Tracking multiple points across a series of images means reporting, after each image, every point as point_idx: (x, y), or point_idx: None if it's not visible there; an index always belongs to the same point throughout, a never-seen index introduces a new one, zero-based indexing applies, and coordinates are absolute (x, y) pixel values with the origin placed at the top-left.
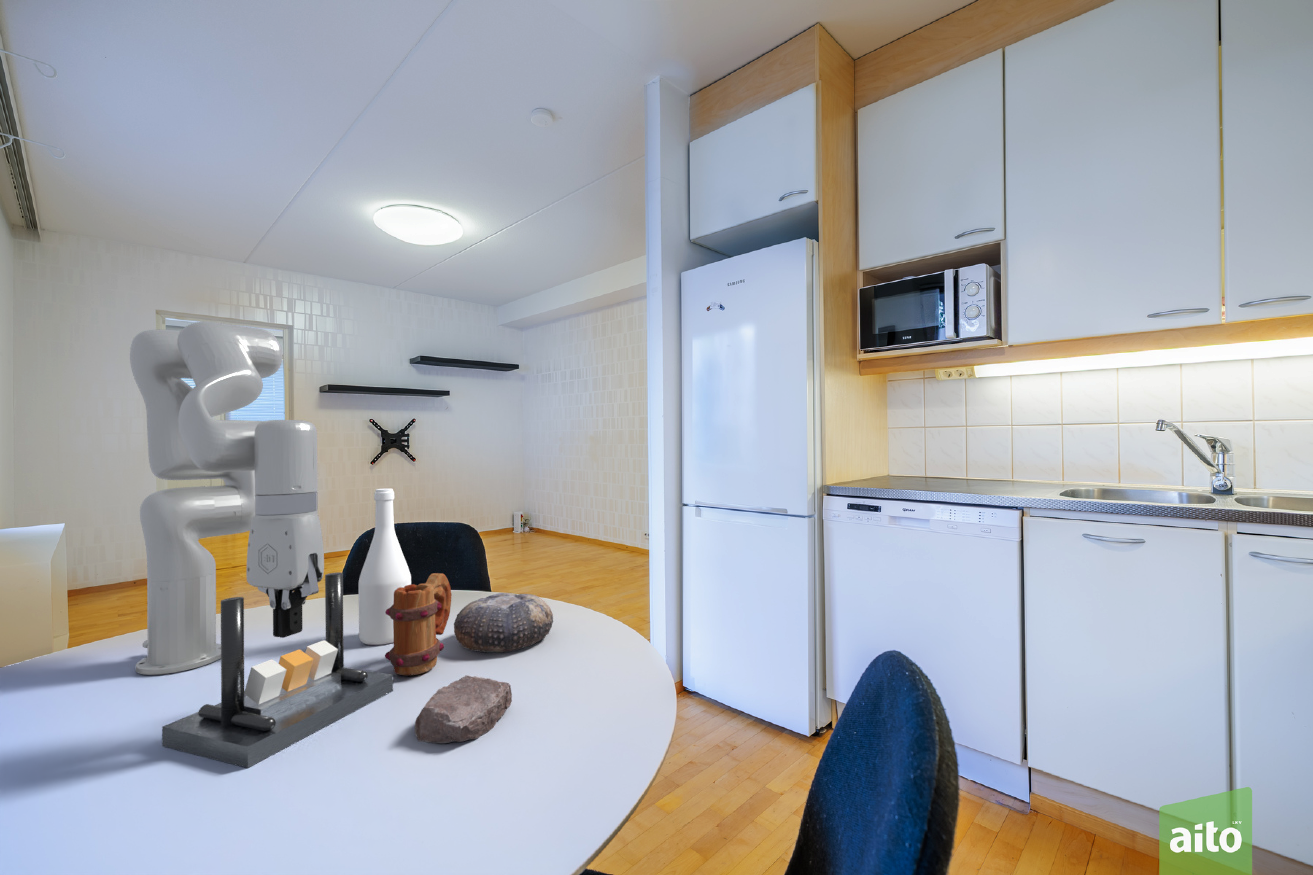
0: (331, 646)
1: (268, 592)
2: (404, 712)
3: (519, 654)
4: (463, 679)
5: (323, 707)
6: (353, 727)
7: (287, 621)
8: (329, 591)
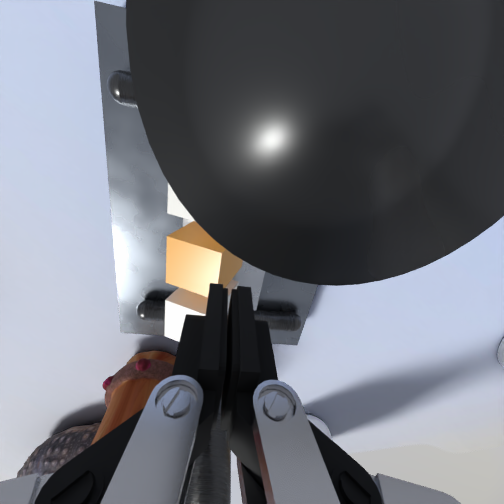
0: (179, 339)
1: (330, 482)
2: (36, 258)
3: (49, 425)
4: None
5: (118, 205)
6: (71, 199)
7: (195, 335)
8: None
